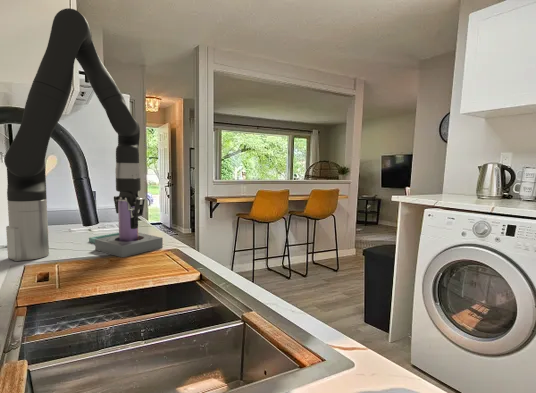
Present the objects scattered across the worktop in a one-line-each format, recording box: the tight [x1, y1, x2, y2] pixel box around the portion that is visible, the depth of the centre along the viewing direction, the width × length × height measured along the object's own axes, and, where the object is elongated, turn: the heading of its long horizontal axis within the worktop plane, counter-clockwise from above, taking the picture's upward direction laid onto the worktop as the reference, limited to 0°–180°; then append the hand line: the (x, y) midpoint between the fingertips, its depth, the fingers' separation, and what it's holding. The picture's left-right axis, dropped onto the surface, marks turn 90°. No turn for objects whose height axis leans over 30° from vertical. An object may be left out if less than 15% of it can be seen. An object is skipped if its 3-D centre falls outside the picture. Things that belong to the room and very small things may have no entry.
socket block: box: [94, 232, 164, 258], centre depth 106 cm, size 15×15×4 cm
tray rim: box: [88, 232, 119, 244], centre depth 116 cm, size 12×12×2 cm
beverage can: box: [118, 199, 139, 242], centre depth 106 cm, size 6×6×15 cm
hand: (129, 227), depth 105 cm, fingers closed on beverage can, 4 cm apart
